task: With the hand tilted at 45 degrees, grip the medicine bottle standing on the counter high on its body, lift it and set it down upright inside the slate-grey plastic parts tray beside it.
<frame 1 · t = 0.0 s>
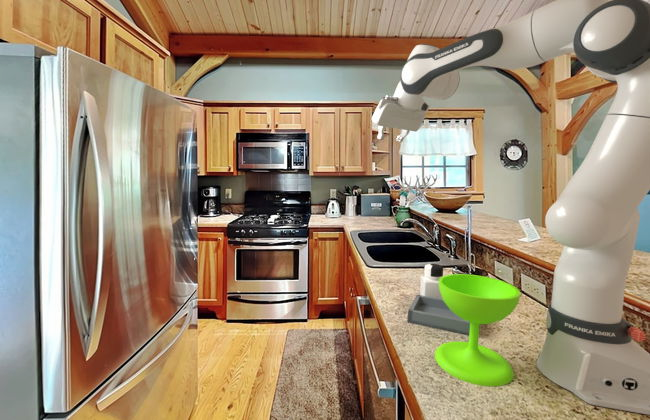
hand: (389, 140, 105), 54 cm above the counter, tool tilted 30°, fingers open, 8 cm apart
medicine bottle: (432, 299, 106), on the counter
parts tray: (443, 319, 90), on the counter
wineglass: (472, 363, 69), on the counter
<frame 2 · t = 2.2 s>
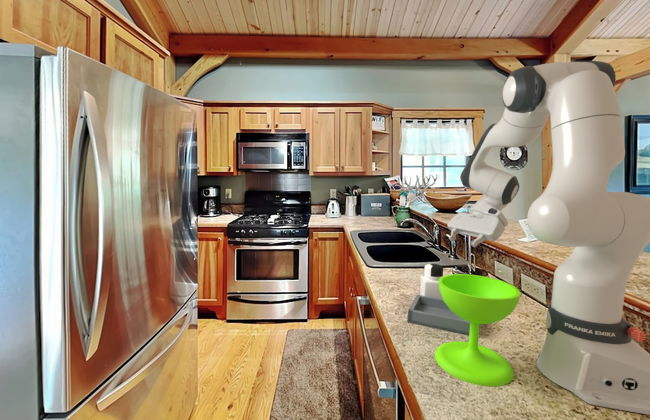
hand: (461, 242, 109), 19 cm above the counter, tool tilted 45°, fingers open, 8 cm apart
nothing on the counter moved.
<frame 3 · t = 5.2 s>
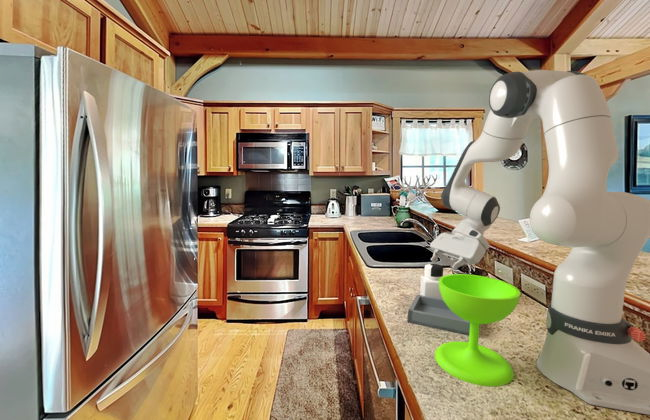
hand: (442, 265, 106), 12 cm above the counter, tool tilted 45°, fingers open, 8 cm apart
nothing on the counter moved.
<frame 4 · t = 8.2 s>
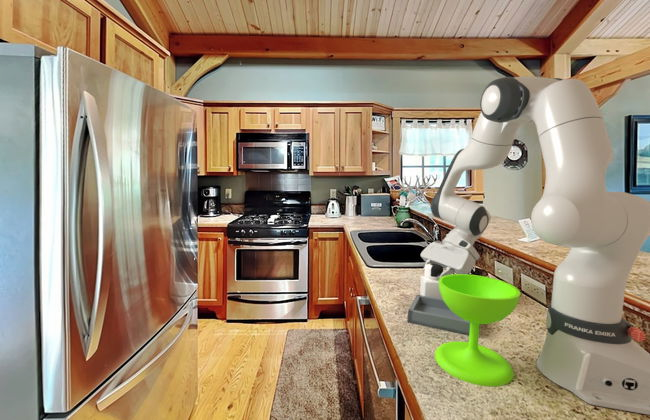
hand: (432, 275, 105), 8 cm above the counter, tool tilted 45°, fingers closed on medicine bottle, 6 cm apart
medicine bottle: (432, 299, 106), on the counter, touching gripper
everything else where it was.
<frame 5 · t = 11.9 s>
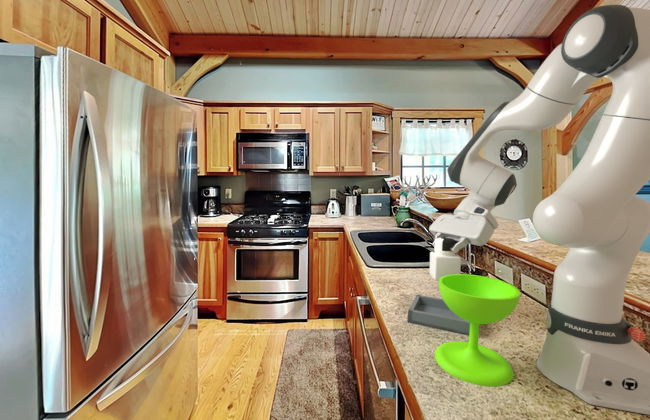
hand: (443, 248, 91), 20 cm above the counter, tool tilted 45°, fingers closed on medicine bottle, 6 cm apart
medicine bottle: (444, 278, 92), point 11 cm above the counter, touching gripper
everything else where it was.
when the fingers open (11 cm above the counter, at t = 15.6 s): medicine bottle stays where it is, resting on parts tray.
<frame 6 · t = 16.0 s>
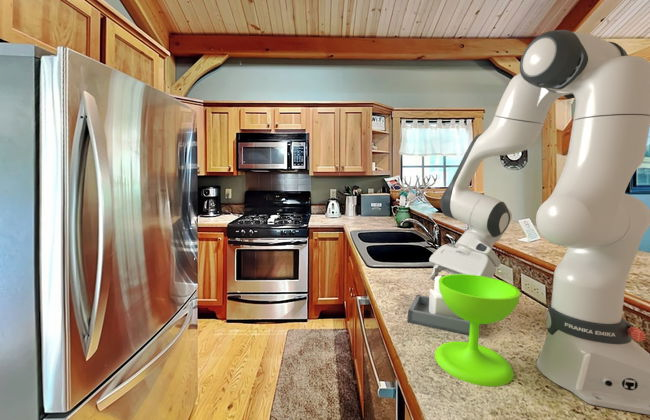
hand: (443, 284, 89), 11 cm above the counter, tool tilted 45°, fingers open, 8 cm apart
medicine bottle: (443, 317, 90), point 1 cm above the counter, touching parts tray
everything else where it was.
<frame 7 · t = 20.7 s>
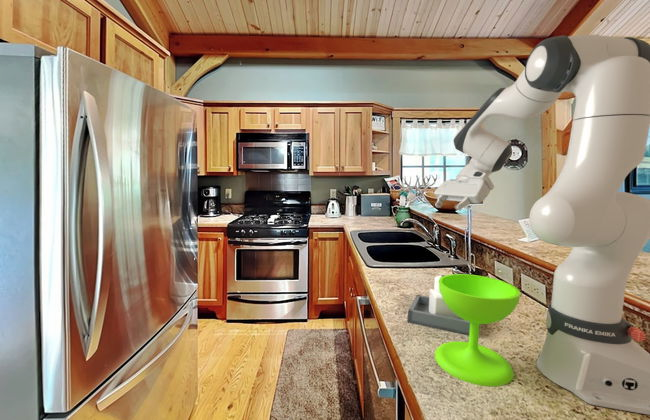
hand: (446, 207, 107), 31 cm above the counter, tool tilted 45°, fingers open, 8 cm apart
nothing on the counter moved.
at the end: medicine bottle inside the target area on the parts tray (0.1 cm from its centre), point 0.6 cm above the parts tray's base; medicine bottle tilted 0°; the gripper is holding nothing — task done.
